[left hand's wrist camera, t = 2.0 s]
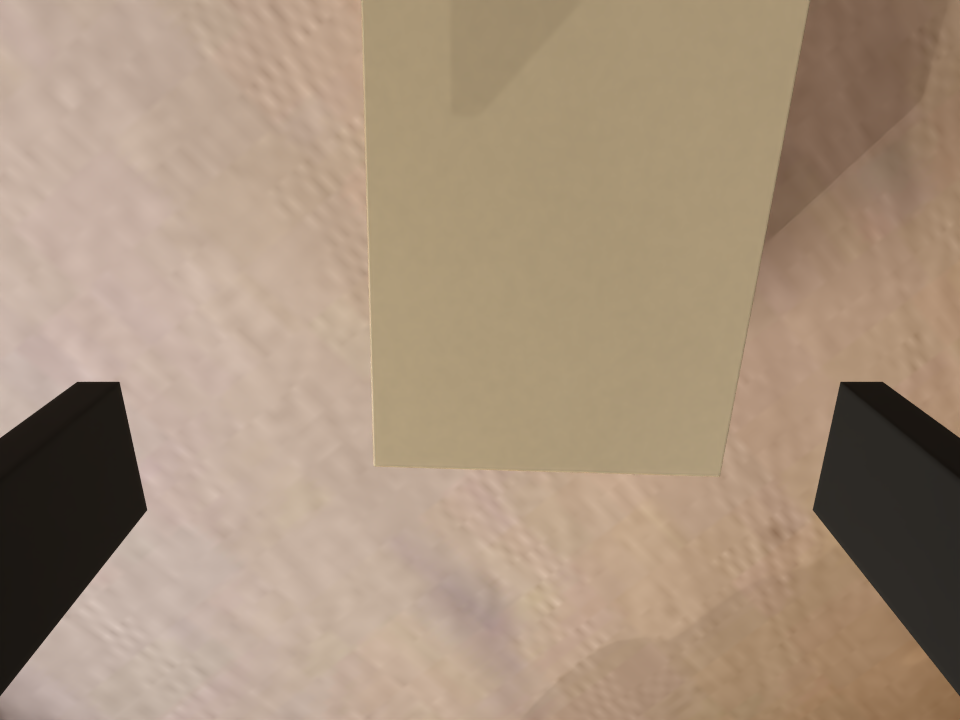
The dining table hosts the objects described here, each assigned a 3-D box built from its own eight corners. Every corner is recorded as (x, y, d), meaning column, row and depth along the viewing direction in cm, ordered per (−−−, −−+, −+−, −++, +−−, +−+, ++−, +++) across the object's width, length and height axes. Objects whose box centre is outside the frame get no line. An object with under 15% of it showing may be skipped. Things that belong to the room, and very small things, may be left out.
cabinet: (403, -226, 22) (348, -459, 13) (720, -213, 22) (893, -433, 13) (406, 349, 30) (373, 467, 20) (644, 356, 30) (720, 477, 21)
